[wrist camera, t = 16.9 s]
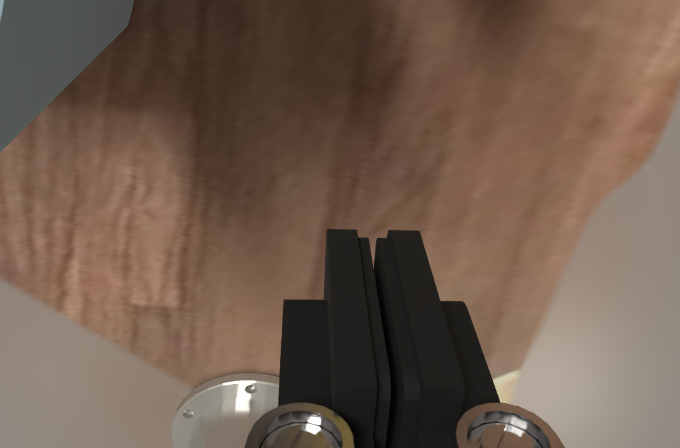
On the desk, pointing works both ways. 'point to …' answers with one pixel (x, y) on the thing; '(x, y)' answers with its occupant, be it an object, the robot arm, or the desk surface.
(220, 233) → the desk surface
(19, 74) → the door
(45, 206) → the desk surface
